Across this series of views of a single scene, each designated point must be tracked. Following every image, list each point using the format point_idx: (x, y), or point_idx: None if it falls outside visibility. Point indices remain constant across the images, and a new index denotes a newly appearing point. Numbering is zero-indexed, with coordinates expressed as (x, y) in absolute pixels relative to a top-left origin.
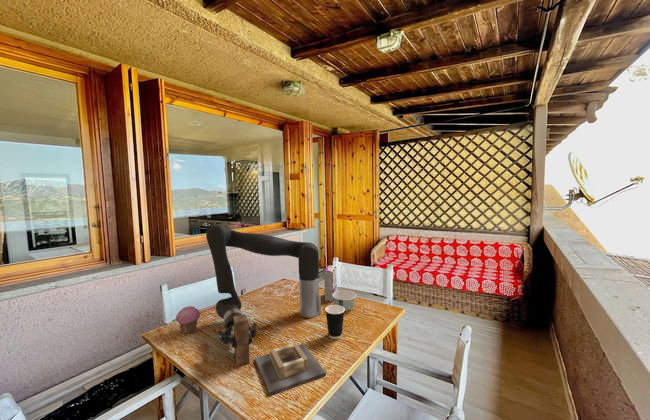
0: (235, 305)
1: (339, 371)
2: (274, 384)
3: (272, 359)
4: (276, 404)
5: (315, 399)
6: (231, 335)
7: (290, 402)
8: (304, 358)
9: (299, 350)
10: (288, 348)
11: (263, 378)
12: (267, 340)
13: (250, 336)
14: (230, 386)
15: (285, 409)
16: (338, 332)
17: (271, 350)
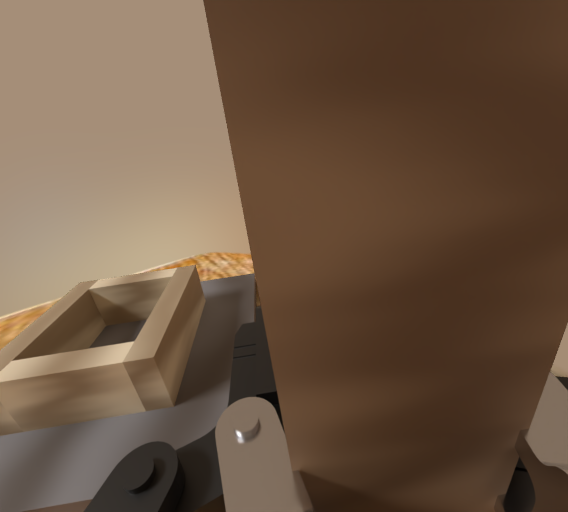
0: None
1: (31, 315)
2: (231, 288)
3: (177, 346)
4: (248, 266)
5: (168, 267)
6: (551, 394)
7: (218, 267)
8: (86, 286)
9: (41, 323)
10: (52, 358)
11: (254, 311)
12: None
13: (246, 360)
14: None
15: (236, 259)
16: None
17: (148, 353)
